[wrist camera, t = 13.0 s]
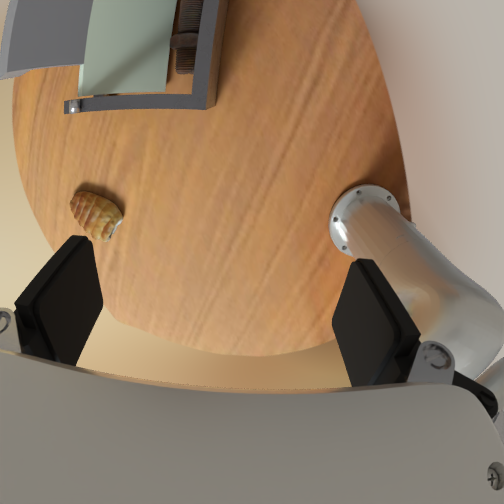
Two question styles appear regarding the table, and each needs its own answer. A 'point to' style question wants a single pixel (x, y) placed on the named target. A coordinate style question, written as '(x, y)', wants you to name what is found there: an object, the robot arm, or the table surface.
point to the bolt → (187, 35)
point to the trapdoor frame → (202, 79)
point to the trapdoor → (91, 42)
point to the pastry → (96, 214)
